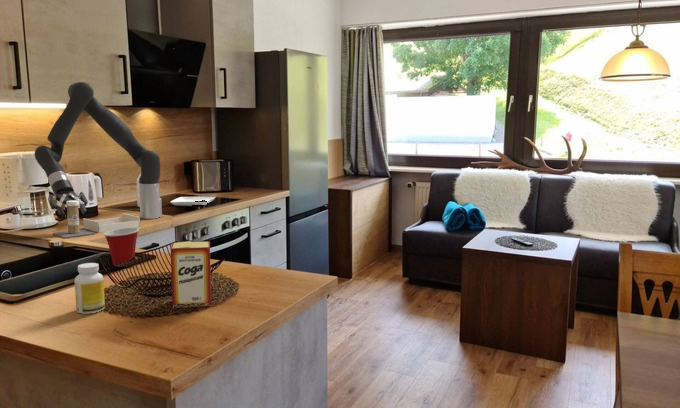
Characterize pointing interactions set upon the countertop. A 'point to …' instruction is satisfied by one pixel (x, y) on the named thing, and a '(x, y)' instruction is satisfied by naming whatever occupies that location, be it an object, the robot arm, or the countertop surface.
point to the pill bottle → (89, 289)
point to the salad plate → (191, 201)
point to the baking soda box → (190, 272)
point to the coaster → (69, 235)
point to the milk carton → (138, 191)
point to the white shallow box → (112, 223)
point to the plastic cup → (122, 244)
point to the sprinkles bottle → (73, 216)
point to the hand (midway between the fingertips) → (74, 214)
